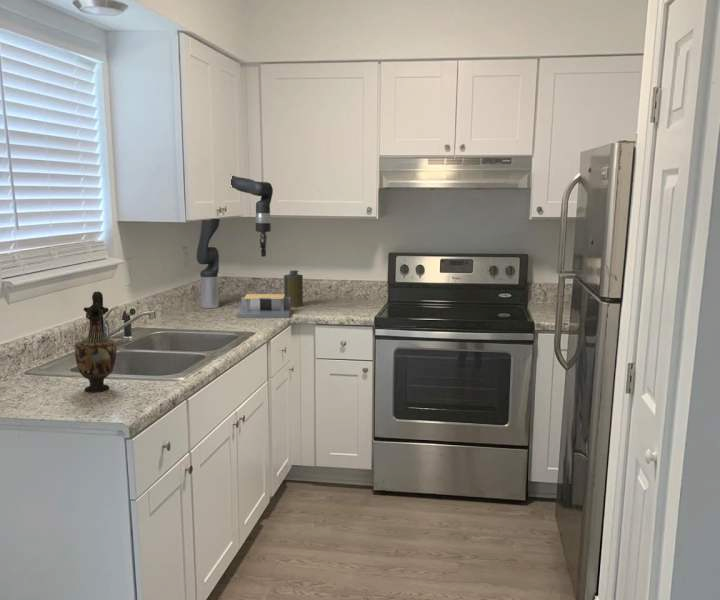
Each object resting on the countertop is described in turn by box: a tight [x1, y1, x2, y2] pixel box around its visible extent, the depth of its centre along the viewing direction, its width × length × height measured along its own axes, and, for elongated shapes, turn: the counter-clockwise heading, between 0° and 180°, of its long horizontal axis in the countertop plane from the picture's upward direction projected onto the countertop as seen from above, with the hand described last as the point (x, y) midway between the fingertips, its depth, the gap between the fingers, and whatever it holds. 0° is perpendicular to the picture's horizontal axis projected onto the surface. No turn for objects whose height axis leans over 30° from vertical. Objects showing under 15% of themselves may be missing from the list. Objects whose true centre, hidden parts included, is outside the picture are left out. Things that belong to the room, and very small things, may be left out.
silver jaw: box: [250, 299, 261, 311], centre depth 318 cm, size 5×5×6 cm
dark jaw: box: [271, 299, 281, 311], centre depth 319 cm, size 5×5×6 cm
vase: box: [74, 291, 118, 393], centre depth 186 cm, size 12×12×30 cm
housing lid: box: [243, 293, 285, 299], centre depth 317 cm, size 14×20×1 cm
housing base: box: [236, 296, 292, 319], centre depth 316 cm, size 20×26×9 cm
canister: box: [283, 270, 304, 308], centre depth 343 cm, size 11×10×20 cm
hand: (263, 256), depth 309 cm, fingers closed
